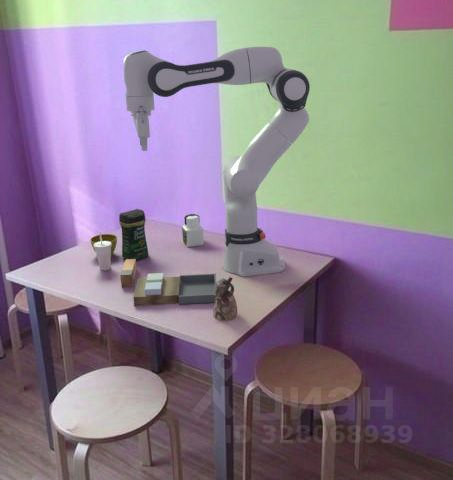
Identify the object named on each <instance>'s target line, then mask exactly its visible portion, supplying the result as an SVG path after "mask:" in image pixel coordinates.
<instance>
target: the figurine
mask: <svg viewBox="0 0 453 480" xmlns="http://www.w3.org/2000/svg"><path fill="white" fill-rule="evenodd" d="M232 280H233V277H231V276H229V277H228V279H227V278H224V277H223V278H220V279H219V280H218V281H216V283H217V288H216V292H215V293H214V295H215V296H216V299H215V303H214V307H213V318H214V319H215V320H216V321H221V322H229V321H233V320H235V318H237V315H238V305H237V300H236V297H235V295H234V293H235V287H234V285H233V284H232V283H231V282H232ZM229 288H230V290H229Z"/></svg>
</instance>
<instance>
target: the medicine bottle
mask: <svg viewBox="0 0 453 480" xmlns="http://www.w3.org/2000/svg"><path fill="white" fill-rule="evenodd" d="M200 221H201V220H200V215H198V214H195V213H189V214H186V215H185V216H184V225H182V226H181V229H182V231H181V233H182V242H183V243H184V245H185V247H186V248H191V247H192V248H193V247H198V246H204V245H205V242H204V241H205V240H204V239H205V238H204V228H203V227H202V226H201V223H200Z"/></svg>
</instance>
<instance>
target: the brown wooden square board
mask: <svg viewBox="0 0 453 480" xmlns="http://www.w3.org/2000/svg"><path fill="white" fill-rule="evenodd" d="M163 278H164V279H163V285H162V292H161V295H145V285H146V283H147V277H143V278H137V281H136V287H135V290H134V294H133V298H132V299H133V306H134V307H139V306H140V307H141V306H144V307H145V306H158V305H159V306H160V305H162V306H163V305H179V296H180V284H181V281H180V276H163Z"/></svg>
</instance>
